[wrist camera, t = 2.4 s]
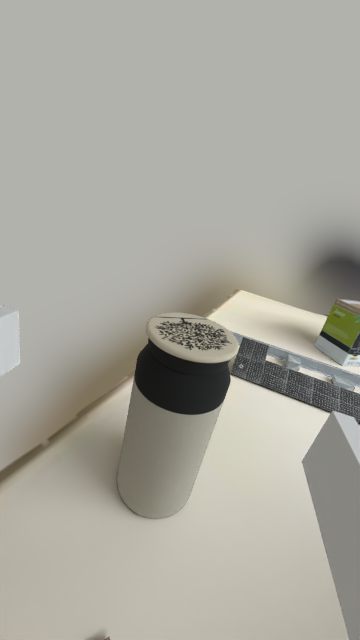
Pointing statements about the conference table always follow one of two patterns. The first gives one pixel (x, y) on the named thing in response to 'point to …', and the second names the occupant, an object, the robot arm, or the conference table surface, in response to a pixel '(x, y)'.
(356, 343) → the tea box
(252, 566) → the conference table surface
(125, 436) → the travel mug
